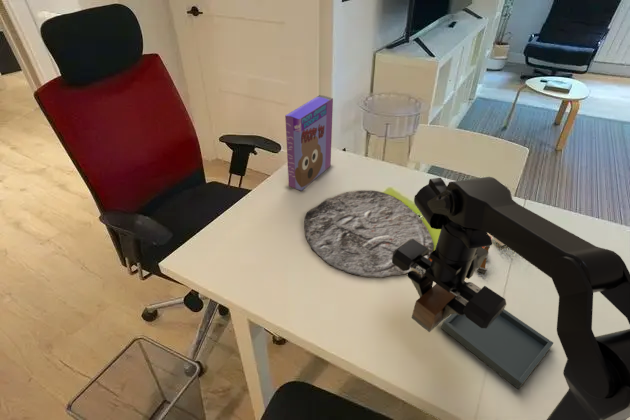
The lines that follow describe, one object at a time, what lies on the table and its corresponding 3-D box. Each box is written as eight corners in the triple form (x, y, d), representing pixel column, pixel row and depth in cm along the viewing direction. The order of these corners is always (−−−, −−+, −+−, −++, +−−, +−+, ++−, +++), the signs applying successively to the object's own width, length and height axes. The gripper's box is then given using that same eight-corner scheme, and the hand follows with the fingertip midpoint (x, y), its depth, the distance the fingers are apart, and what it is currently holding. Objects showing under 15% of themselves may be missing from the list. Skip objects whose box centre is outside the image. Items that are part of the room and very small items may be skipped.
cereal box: (301, 191, 115) (299, 118, 100) (288, 186, 117) (285, 114, 102) (330, 166, 126) (332, 97, 111) (318, 162, 128) (319, 94, 113)
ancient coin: (376, 303, 82) (376, 302, 82) (280, 224, 102) (280, 223, 102) (459, 235, 99) (459, 234, 99) (362, 179, 119) (363, 178, 119)
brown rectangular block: (455, 308, 69) (462, 290, 66) (429, 332, 65) (435, 315, 62) (437, 294, 72) (443, 277, 68) (411, 317, 68) (415, 300, 64)
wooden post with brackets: (489, 247, 94) (493, 240, 90) (482, 276, 91) (487, 270, 87) (481, 245, 95) (485, 238, 91) (475, 273, 92) (478, 267, 88)
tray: (549, 348, 74) (554, 342, 72) (518, 389, 67) (522, 383, 66) (474, 296, 84) (477, 290, 82) (441, 327, 77) (443, 322, 76)
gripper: (539, 257, 56) (505, 318, 66) (436, 200, 68) (420, 260, 77) (502, 296, 51) (471, 356, 61) (396, 226, 62) (384, 287, 72)
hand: (434, 309), depth 68 cm, fingers closed on brown rectangular block, 4 cm apart
